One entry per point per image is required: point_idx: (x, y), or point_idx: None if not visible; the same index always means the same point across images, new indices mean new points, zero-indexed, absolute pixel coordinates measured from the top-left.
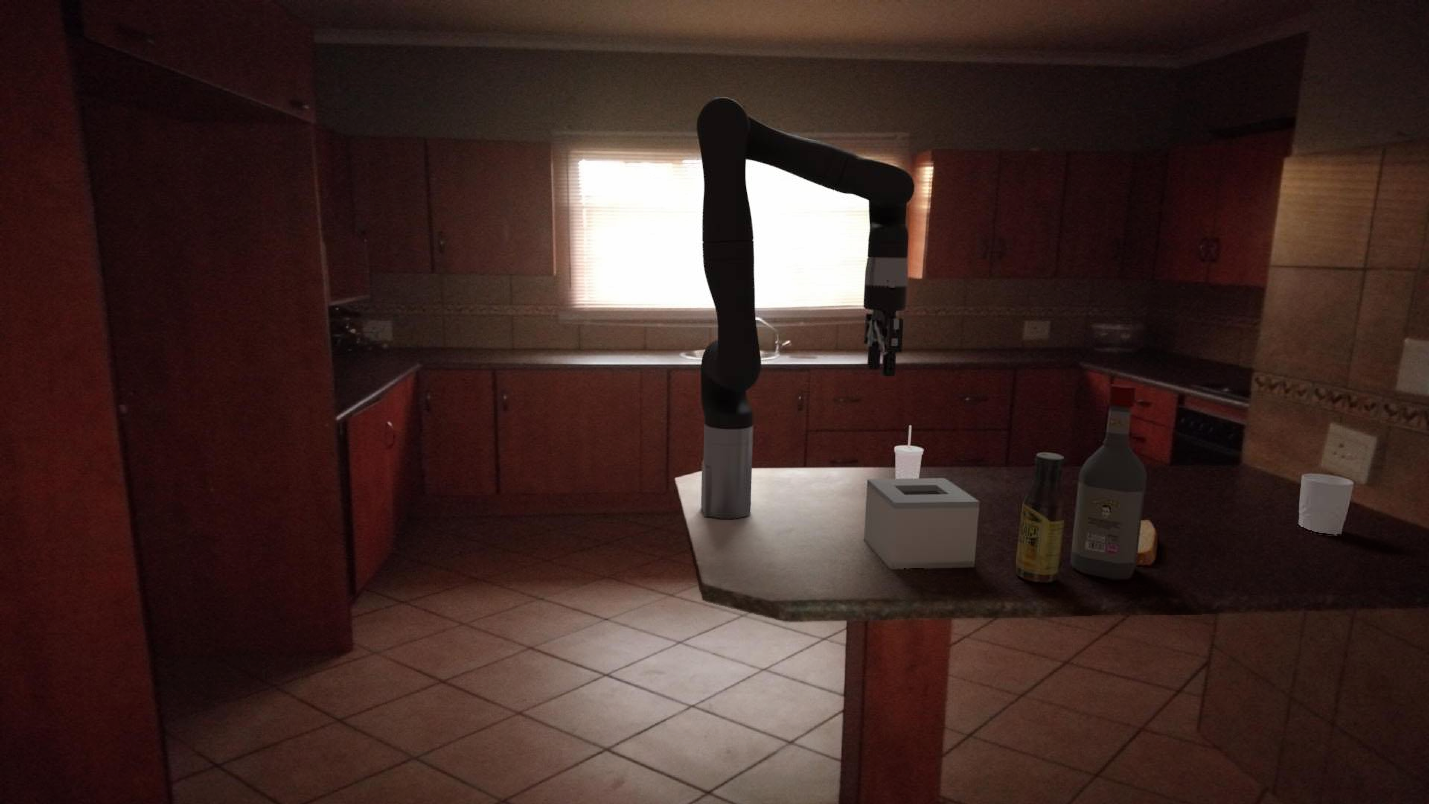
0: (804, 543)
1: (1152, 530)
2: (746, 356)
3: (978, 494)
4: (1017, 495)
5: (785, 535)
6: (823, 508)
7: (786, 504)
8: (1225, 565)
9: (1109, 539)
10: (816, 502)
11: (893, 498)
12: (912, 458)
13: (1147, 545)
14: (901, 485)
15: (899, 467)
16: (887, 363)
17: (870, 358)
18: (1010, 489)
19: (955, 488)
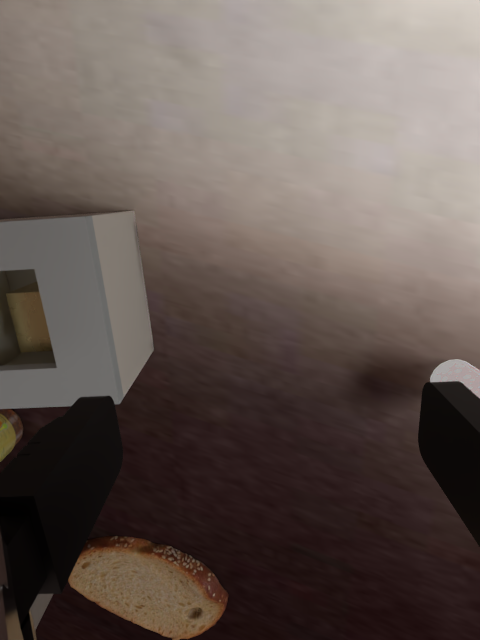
0: (102, 77)
1: (142, 624)
2: None
3: (399, 491)
4: (386, 545)
5: (148, 39)
6: (335, 168)
7: (372, 78)
8: (81, 636)
9: None
10: (381, 160)
11: None
12: None
13: (88, 592)
14: (39, 288)
15: (470, 383)
16: (8, 468)
17: (466, 436)
18: (422, 548)
19: (35, 398)
